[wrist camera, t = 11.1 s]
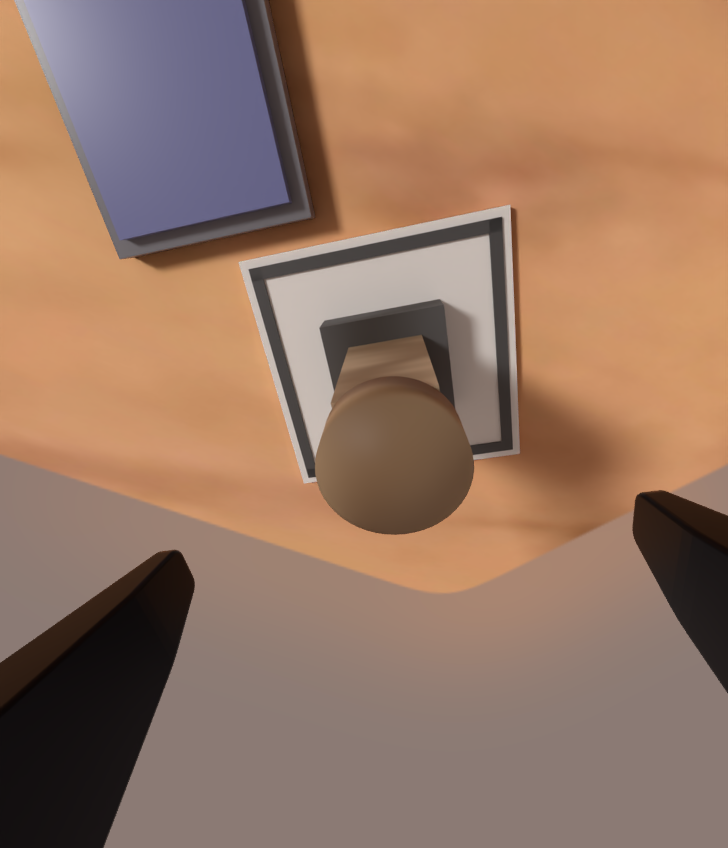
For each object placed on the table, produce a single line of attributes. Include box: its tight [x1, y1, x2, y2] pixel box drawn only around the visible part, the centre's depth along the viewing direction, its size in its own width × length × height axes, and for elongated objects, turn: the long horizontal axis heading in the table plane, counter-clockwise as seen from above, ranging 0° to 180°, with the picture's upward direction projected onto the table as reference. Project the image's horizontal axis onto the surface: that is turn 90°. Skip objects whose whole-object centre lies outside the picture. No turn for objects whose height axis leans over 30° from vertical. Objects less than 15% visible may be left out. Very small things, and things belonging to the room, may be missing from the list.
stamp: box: [315, 299, 474, 535], centre depth 15 cm, size 5×5×9 cm
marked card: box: [239, 205, 520, 483], centre depth 19 cm, size 11×11×1 cm
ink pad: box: [14, 0, 315, 259], centre depth 14 cm, size 8×11×2 cm
